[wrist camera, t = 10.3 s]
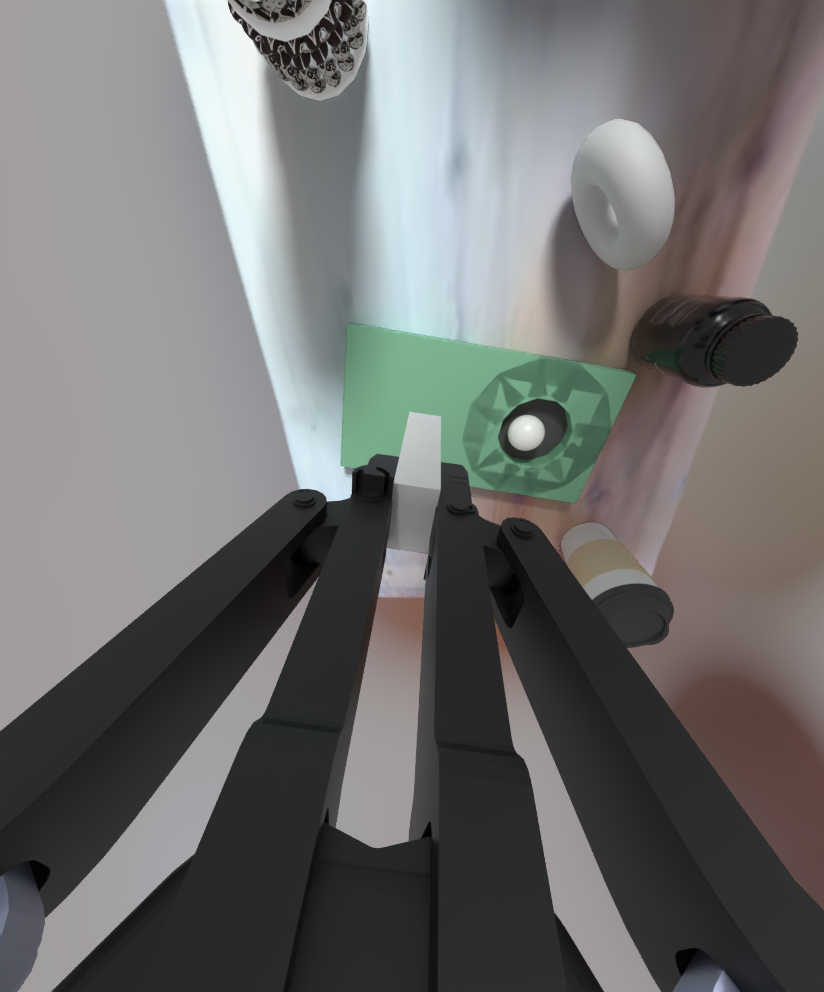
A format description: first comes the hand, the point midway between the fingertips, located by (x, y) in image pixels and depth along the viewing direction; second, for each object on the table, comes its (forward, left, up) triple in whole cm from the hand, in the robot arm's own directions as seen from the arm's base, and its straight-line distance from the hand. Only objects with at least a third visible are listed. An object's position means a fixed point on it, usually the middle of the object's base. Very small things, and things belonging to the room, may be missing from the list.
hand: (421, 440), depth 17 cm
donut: (-14, +12, -25) cm, 31 cm away
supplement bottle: (-6, +23, -25) cm, 34 cm away
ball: (+6, +12, -22) cm, 26 cm away
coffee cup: (+21, +26, -25) cm, 42 cm away
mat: (+6, +6, -24) cm, 26 cm away
